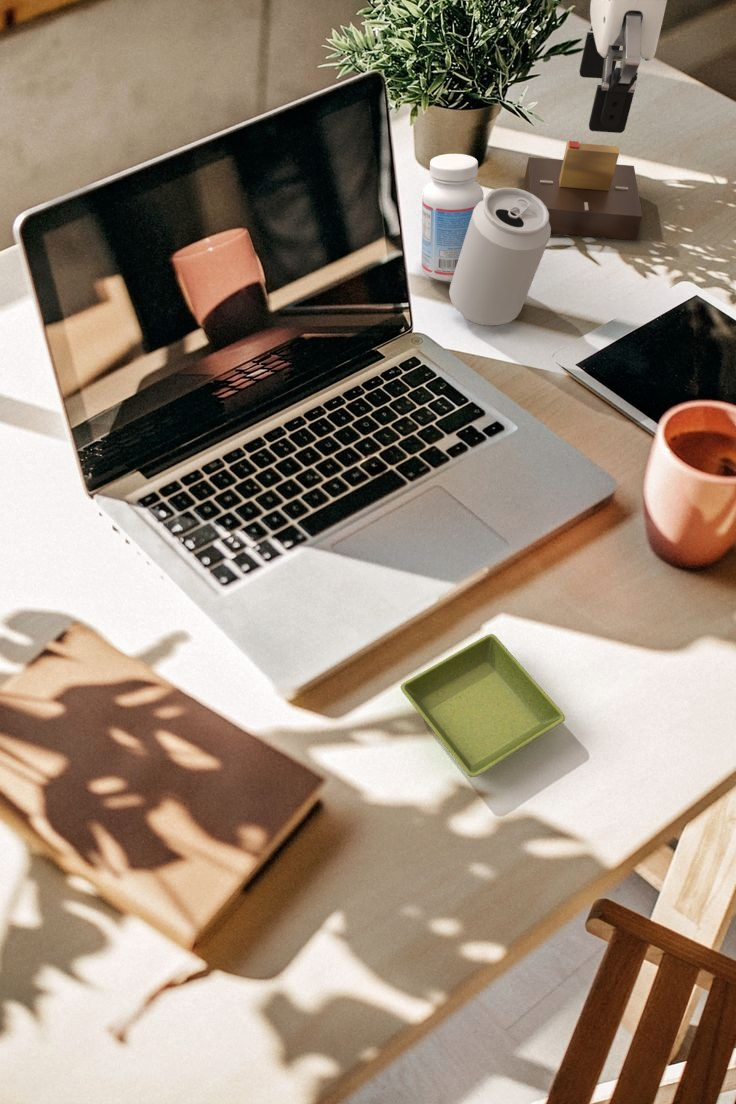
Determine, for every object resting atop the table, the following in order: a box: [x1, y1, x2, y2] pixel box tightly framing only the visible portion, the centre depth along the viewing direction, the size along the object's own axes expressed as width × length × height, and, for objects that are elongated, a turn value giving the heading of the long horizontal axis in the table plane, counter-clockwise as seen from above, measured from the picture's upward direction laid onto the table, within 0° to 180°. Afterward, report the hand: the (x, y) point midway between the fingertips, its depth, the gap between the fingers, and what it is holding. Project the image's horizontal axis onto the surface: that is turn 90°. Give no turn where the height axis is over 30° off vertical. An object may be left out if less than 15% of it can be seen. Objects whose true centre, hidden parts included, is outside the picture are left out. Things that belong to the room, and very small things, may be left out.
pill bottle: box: [421, 153, 484, 282], centre depth 103 cm, size 6×6×11 cm
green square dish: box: [400, 633, 566, 778], centre depth 74 cm, size 9×9×2 cm
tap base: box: [523, 156, 643, 241], centre depth 115 cm, size 12×10×3 cm
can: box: [448, 186, 552, 327], centre depth 99 cm, size 8×8×12 cm
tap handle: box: [559, 140, 620, 191], centre depth 112 cm, size 6×1×5 cm, turn 86°
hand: (600, 102), depth 96 cm, fingers open, 9 cm apart
